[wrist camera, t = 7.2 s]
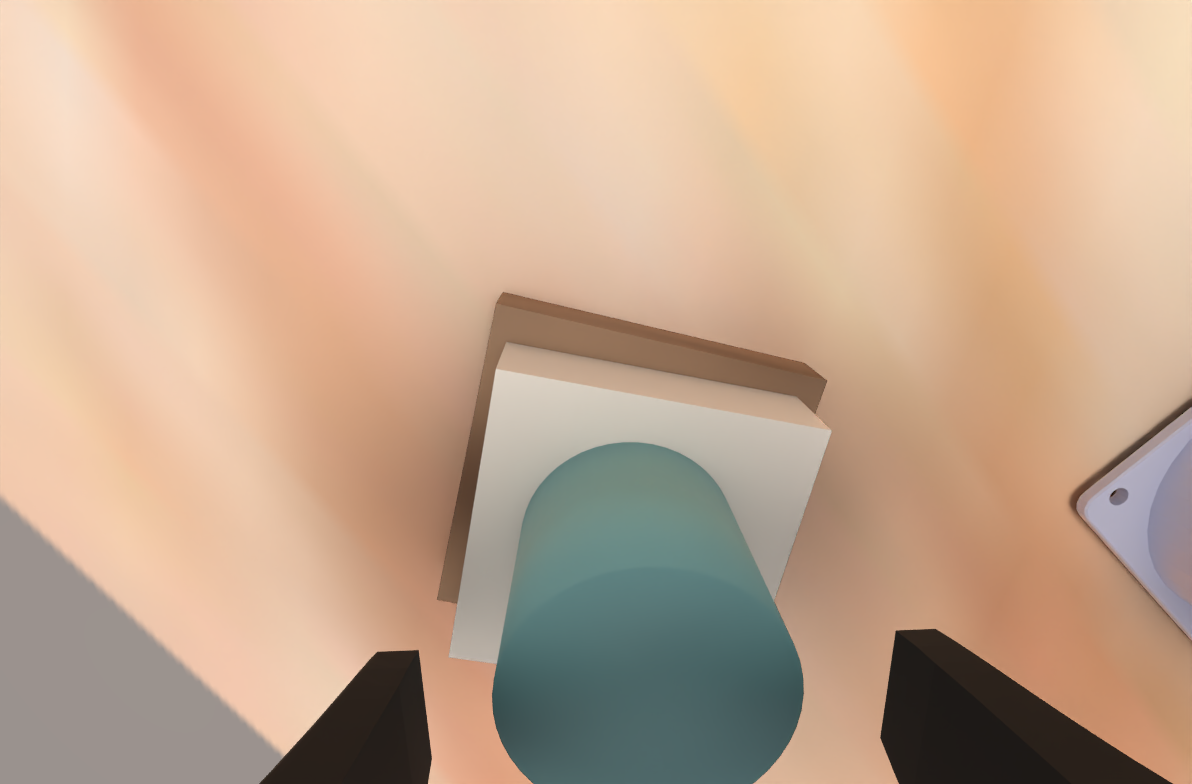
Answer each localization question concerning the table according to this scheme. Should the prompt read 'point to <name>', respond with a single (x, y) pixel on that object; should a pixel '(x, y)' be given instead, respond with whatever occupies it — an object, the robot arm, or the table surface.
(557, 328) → the walnut slab
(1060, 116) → the table surface
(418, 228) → the table surface
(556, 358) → the off-white slab
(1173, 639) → the table surface
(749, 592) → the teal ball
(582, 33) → the table surface
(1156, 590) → the robot arm
